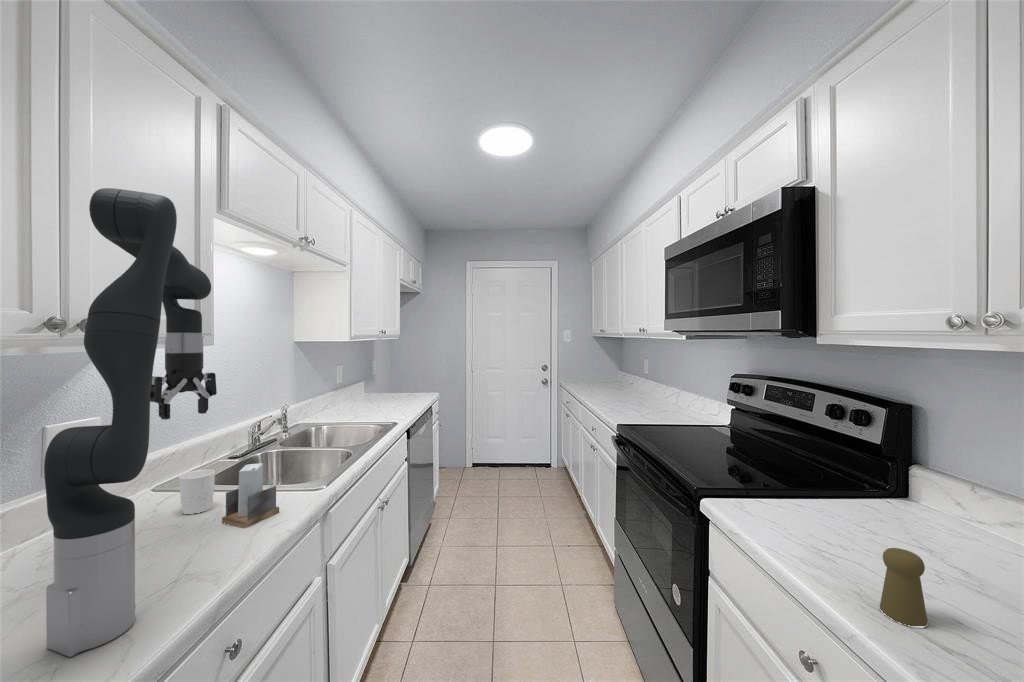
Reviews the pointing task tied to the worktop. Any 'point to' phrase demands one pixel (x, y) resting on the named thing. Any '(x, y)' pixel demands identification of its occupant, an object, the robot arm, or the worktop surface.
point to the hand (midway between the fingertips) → (184, 416)
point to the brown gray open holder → (251, 507)
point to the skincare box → (249, 485)
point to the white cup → (197, 491)
